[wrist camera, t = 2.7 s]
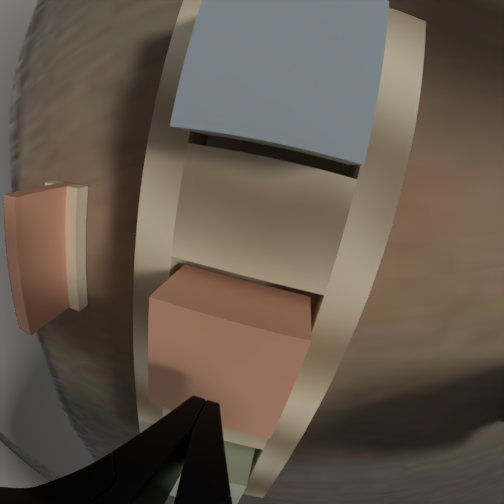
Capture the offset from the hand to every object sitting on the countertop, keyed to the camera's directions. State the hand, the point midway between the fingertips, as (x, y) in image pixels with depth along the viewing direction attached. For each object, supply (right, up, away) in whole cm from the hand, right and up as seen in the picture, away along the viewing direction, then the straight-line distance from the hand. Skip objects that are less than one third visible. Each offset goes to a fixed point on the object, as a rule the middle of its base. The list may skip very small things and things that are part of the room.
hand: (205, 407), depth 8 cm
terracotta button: (+1, +1, +4) cm, 4 cm away
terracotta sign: (-10, +5, +9) cm, 14 cm away
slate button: (+3, +11, +1) cm, 11 cm away
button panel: (+1, +2, +7) cm, 8 cm away
